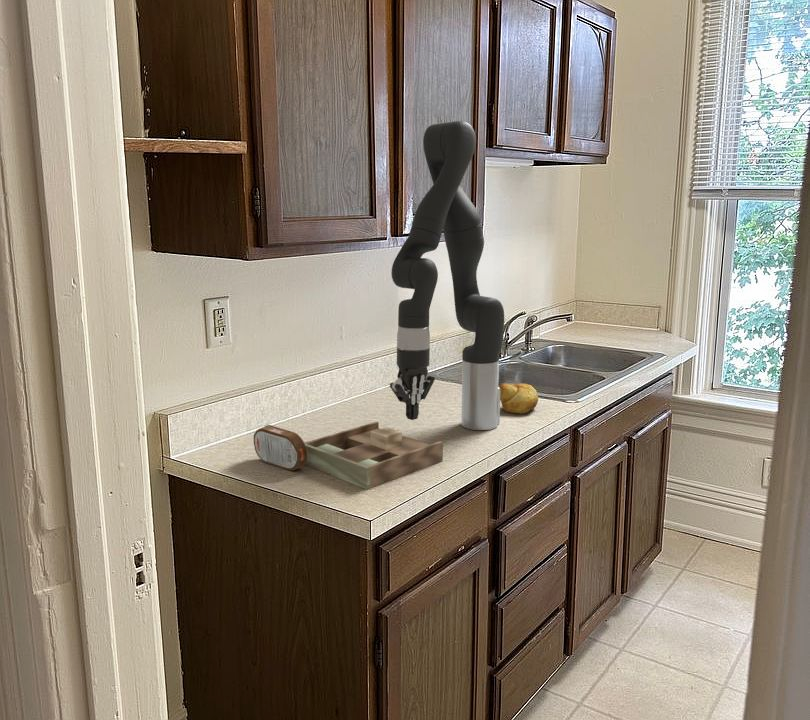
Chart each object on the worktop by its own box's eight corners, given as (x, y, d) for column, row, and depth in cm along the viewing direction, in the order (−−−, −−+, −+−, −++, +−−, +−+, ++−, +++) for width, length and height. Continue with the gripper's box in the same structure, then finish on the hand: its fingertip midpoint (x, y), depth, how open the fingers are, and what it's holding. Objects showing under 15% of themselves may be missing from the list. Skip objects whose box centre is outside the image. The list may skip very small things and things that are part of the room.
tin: (309, 471, 163) (307, 434, 161) (298, 475, 161) (297, 437, 159) (262, 456, 172) (261, 421, 171) (251, 460, 170) (250, 424, 168)
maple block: (386, 439, 174) (386, 427, 174) (402, 444, 171) (401, 431, 170) (370, 444, 171) (370, 431, 170) (385, 449, 167) (385, 436, 167)
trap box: (376, 439, 184) (376, 421, 183) (442, 461, 169) (442, 441, 168) (301, 463, 168) (300, 443, 167) (367, 489, 153) (366, 468, 152)
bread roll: (516, 401, 216) (517, 374, 215) (547, 407, 211) (548, 379, 209) (493, 411, 207) (493, 383, 205) (524, 418, 201) (525, 388, 199)
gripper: (421, 339, 180) (420, 410, 183) (380, 346, 170) (380, 420, 174) (445, 344, 174) (443, 416, 178) (404, 351, 165) (403, 428, 169)
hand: (412, 418), depth 176 cm, fingers closed
